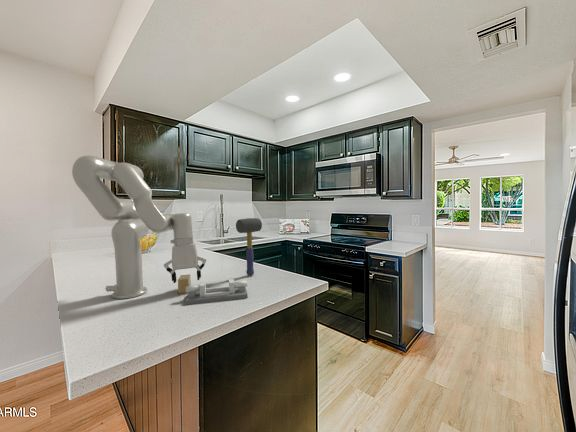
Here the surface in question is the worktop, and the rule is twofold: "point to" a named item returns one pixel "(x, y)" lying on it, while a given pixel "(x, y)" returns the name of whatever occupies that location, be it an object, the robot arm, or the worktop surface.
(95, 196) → the robot arm
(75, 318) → the worktop surface
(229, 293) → the shaft stand
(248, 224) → the rubber mallet
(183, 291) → the coupler
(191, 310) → the worktop surface
